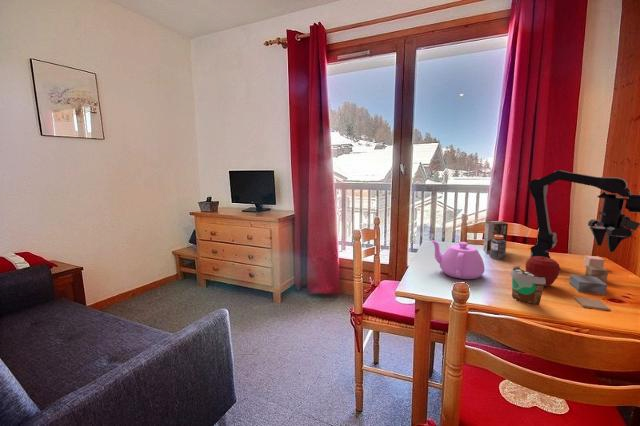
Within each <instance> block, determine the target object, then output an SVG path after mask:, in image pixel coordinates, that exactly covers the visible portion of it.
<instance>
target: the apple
mask: <svg viewBox="0 0 640 426" xmlns="http://www.w3.org/2000/svg"><path fill="white" fill-rule="evenodd" d="M525 271H526V272H530V273H532V274H534V275H535V276H537V277H539V278H545V280H546V284H544V286H543V288H544V287H547V286H550V285H552V284H554V283H555V281H556V280H557V278H559V274H560V273H561V267H560V264H559V263H558V262H557V261H556V260H555V259H554V258H551V257H550V258H547V257H544V256H543V257H542V256H534V257H531V258H530V257H529V258H527V260H526V262H525Z"/></svg>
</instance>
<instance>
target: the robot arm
mask: <svg viewBox="0 0 640 426" xmlns="http://www.w3.org/2000/svg"><path fill="white" fill-rule="evenodd" d="M559 181H564V182H570V183H574V184H575V183H576V184H580V185H586V186H590V187H595V188H597V189H600V190H602V191H603V192H602V193H601V194H599V195H597V198H599V199H603V202H602V203H603V204H602V208H601V210H599V211H598V214H599V215H600V219H590V220H589V221H588V224H587V226H589V229H590V230H591V234H592V236H593V238H594V240H595V243H596V245H597V246H602V244H603V242H604V239H605V237H606V242H607V246H608V250H609V252H610V253H614V252H615V251H616V249H617V247H618V246H619V245H620V243H621V242H622V241H624V240H625V239H629V238H631V237H633V234H634V231H635V232H636V231H637V230H638V228H639V227H640V222H637V221H633V220H632V219H631V217H629V216H626V215H625V213H623V208H624V209H626V210H627V211H628V212H629V213H639V214H640V194H633V193H632V191H631V190H630V189H629V188H628V181H627V180H626V179H624V178H621V177H610V176H609V177H608V176H607V177H605V176H594V175H593V176H592V175H587V174H582V173H577V172H571V171H570V172H569V171H565V170H562V169H561V170H560V169H559V170H555V171H553V172H552V173H550V174H547V175H546V176H543V177H541V178H534V179H532V180H530V182H529V183H528V189H529V191H530V194H531V196H532V198H533V199H534V207H535V214H536V221H537V226H538V232H537V237H536V244H534V245H533V246H531V247H530V255H529V256H530V257H529V258H531V257H534V256H542V257H543V256H544V257H547V258H551V256H550V252H549V251H550V250H552V249H553V248H554V247H555V246H556V245H557V242H559V241H558V238H557V232H552V229H551V225H550V224H551V223H550V218H549V211H548V210H549V209H548V202H547V195H548V187H549V186H551V185H552V184H554V183H556V182H559ZM607 192H608V193H607ZM618 195H619V196H618ZM624 203H625V206H624Z"/></svg>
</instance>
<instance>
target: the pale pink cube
mask: <svg viewBox="0 0 640 426" xmlns="http://www.w3.org/2000/svg"><path fill="white" fill-rule="evenodd" d="M583 260H584V261H583V267H585V268H586V266H587V265H589V266H600V267H603V268H605V267H604V265H605V259H604V258H602V257H600V256H598V255H596V256H593V255H584V259H583Z"/></svg>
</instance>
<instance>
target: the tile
mask: <svg viewBox="0 0 640 426" xmlns="http://www.w3.org/2000/svg"><path fill="white" fill-rule="evenodd" d="M573 298H574V300H575V301H576V302H577V303H578V304H579V305H580V306H581V307H582V308H585V307H586V308H588V309H594V310H600V311H601V310H602V311H611V308H610V307H609V306H607V305H606V304H605V303H604V302H603V301H602V300H600V299H596V298H589V297H588V298H587V297H581V296H574V297H573Z"/></svg>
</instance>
